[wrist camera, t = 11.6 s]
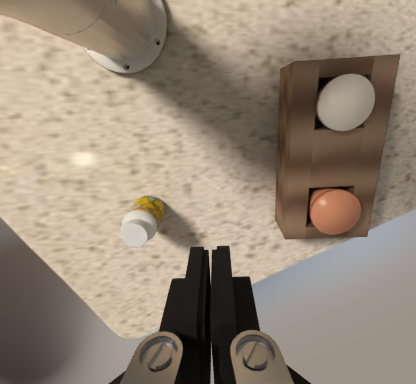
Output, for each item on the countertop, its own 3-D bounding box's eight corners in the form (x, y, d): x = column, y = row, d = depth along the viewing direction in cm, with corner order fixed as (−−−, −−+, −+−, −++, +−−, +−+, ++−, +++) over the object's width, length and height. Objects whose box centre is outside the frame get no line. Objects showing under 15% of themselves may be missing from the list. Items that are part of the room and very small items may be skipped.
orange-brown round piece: (299, 179, 38) (314, 192, 32) (342, 177, 38) (364, 190, 32) (297, 216, 40) (310, 235, 35) (337, 215, 40) (357, 233, 34)
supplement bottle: (129, 203, 44) (106, 229, 35) (153, 188, 43) (137, 211, 34) (147, 226, 45) (129, 257, 36) (171, 213, 44) (159, 241, 35)
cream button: (304, 80, 34) (322, 75, 28) (352, 76, 34) (379, 71, 28) (301, 127, 36) (316, 132, 31) (346, 125, 36) (370, 129, 30)
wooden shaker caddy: (280, 68, 36) (295, 61, 29) (366, 63, 35) (400, 54, 29) (274, 218, 44) (285, 239, 37) (344, 216, 43) (367, 236, 37)
